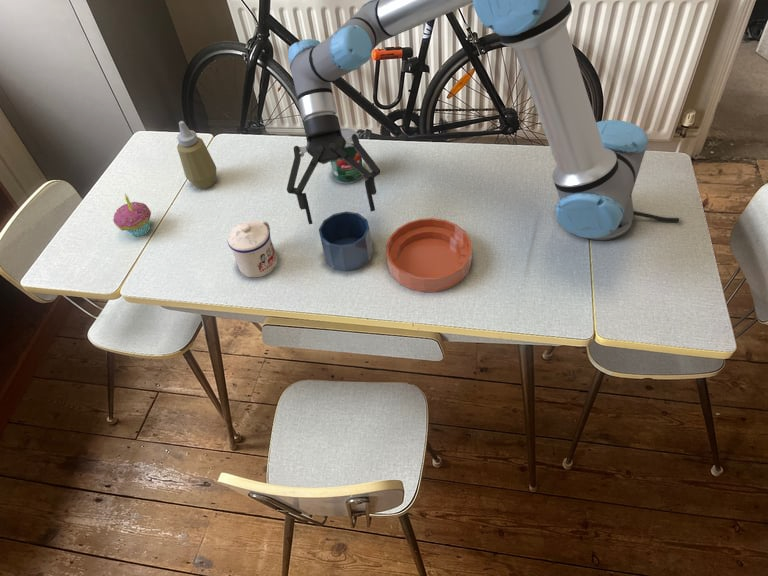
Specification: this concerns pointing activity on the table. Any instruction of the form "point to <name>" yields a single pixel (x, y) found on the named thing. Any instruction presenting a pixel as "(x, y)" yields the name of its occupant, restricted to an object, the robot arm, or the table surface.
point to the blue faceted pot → (346, 241)
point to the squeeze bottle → (195, 158)
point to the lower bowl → (429, 255)
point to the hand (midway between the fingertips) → (342, 217)
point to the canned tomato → (341, 168)
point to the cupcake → (133, 218)
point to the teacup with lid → (253, 248)
